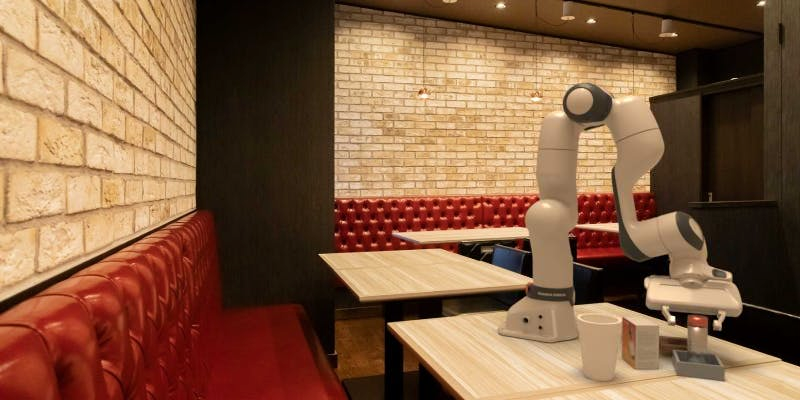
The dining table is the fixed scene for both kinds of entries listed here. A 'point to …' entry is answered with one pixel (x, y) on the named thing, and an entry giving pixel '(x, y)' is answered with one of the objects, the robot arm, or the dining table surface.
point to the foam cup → (599, 344)
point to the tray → (698, 366)
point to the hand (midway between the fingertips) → (694, 326)
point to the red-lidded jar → (697, 339)
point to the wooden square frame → (672, 344)
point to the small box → (640, 342)
